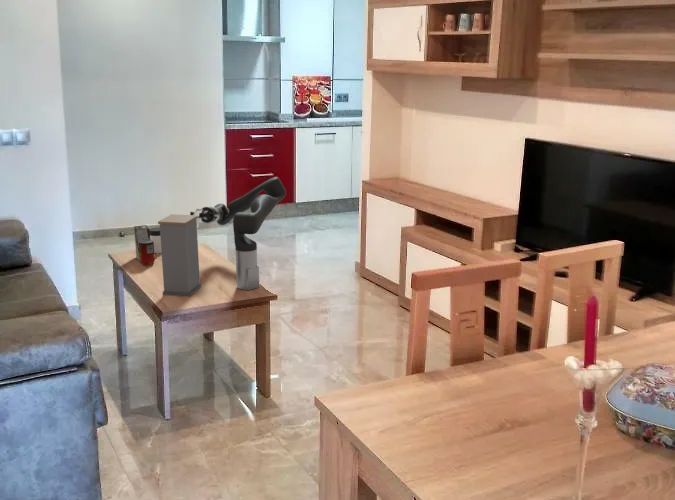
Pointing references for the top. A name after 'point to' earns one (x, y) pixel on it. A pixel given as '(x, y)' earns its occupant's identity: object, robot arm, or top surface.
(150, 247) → the soda can
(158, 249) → the jar
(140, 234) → the coffee box
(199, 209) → the grey rectangular bar
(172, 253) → the stand
